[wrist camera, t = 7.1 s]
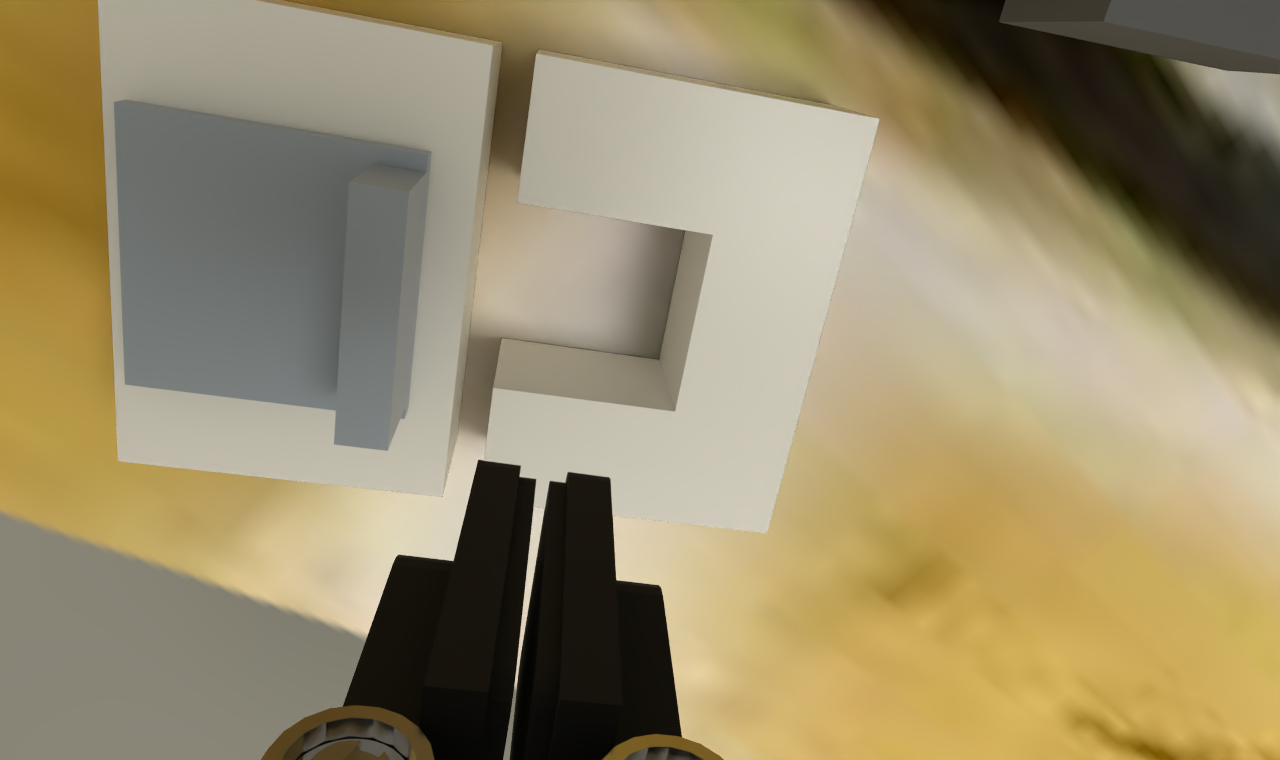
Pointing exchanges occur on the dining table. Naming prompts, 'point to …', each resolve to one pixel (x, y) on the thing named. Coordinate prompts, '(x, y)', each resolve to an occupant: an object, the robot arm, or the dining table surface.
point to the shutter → (270, 264)
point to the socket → (550, 177)
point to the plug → (1165, 28)
